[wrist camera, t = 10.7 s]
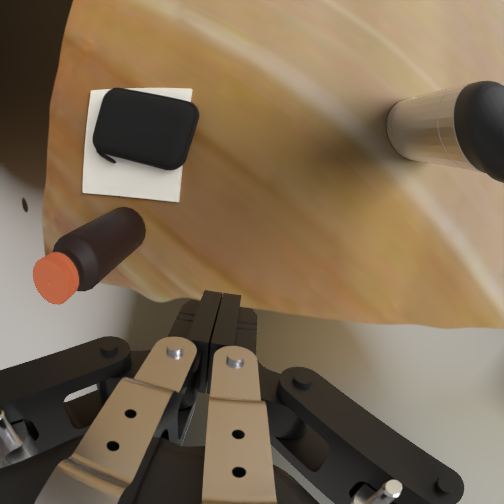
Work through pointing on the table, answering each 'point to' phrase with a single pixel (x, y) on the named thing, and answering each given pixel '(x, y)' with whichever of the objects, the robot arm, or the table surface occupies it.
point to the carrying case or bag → (145, 128)
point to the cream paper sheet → (128, 161)
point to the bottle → (88, 254)
